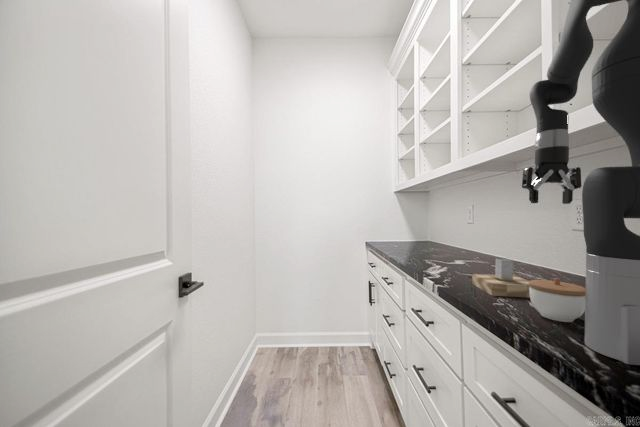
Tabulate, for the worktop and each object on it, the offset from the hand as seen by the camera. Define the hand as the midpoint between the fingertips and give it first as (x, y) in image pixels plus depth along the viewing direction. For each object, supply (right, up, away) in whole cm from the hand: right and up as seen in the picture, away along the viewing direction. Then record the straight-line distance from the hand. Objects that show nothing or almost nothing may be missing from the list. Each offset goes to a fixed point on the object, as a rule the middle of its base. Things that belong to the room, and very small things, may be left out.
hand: (550, 203), depth 79 cm
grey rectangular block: (-8, -28, +9) cm, 30 cm away
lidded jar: (-10, -28, -14) cm, 33 cm away
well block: (-7, -28, +9) cm, 30 cm away
